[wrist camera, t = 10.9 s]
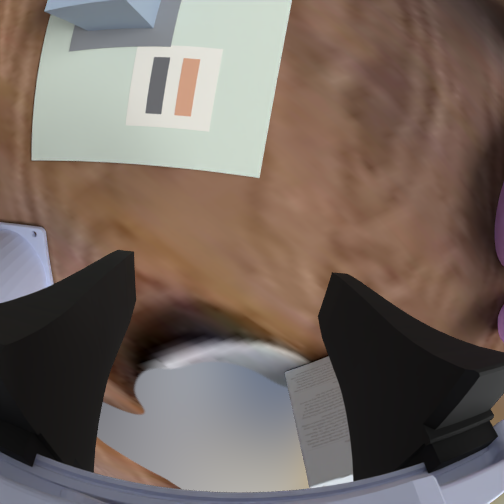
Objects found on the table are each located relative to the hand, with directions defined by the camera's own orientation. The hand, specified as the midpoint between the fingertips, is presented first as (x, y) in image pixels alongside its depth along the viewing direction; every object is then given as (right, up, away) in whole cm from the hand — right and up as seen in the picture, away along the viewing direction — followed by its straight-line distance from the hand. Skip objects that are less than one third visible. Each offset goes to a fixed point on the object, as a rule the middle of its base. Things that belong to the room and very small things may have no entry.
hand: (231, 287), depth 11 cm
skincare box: (+7, -10, +16) cm, 21 cm away
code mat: (-5, +14, +3) cm, 15 cm away
